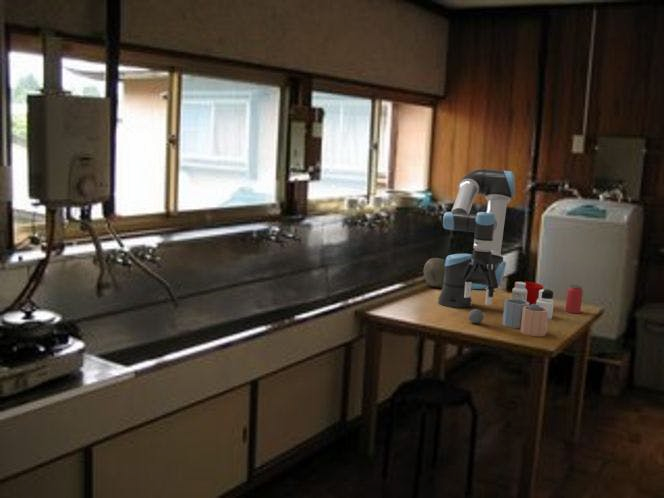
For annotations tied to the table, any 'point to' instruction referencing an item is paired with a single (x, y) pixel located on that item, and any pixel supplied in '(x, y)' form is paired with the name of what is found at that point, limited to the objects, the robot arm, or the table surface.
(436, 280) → the grey stone sphere
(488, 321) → the table surface
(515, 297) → the supplement bottle
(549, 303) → the medicine bottle
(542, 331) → the terracotta tube
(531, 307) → the charcoal ball
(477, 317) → the charcoal ball
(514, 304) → the slate tube
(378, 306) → the table surface
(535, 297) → the ceramic cup
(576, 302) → the beer can
